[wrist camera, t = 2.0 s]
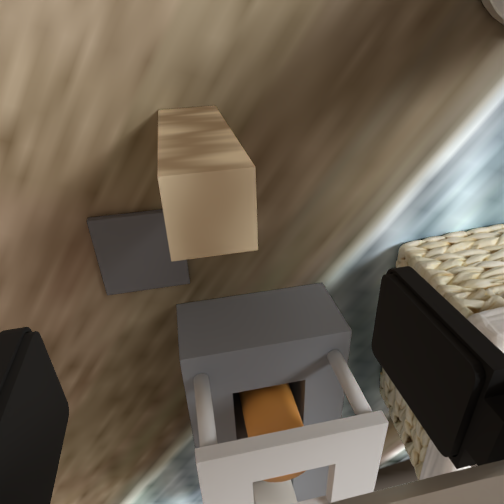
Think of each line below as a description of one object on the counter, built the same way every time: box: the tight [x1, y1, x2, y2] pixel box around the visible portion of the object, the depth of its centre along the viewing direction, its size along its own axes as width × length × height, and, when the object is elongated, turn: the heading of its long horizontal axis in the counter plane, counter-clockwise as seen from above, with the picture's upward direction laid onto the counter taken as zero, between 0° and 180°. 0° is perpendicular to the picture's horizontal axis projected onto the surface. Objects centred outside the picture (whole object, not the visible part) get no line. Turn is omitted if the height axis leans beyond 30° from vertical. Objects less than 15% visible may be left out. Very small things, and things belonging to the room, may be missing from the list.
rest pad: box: [87, 209, 190, 295], centre depth 33 cm, size 7×7×1 cm
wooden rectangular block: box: [157, 105, 258, 262], centre depth 23 cm, size 4×4×14 cm
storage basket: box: [380, 224, 504, 480], centre depth 38 cm, size 24×16×15 cm
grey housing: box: [176, 283, 389, 504], centre depth 38 cm, size 26×14×14 cm, turn 2°
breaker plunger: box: [239, 383, 305, 482], centre depth 35 cm, size 5×5×8 cm
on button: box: [253, 480, 297, 504], centre depth 42 cm, size 4×4×7 cm
